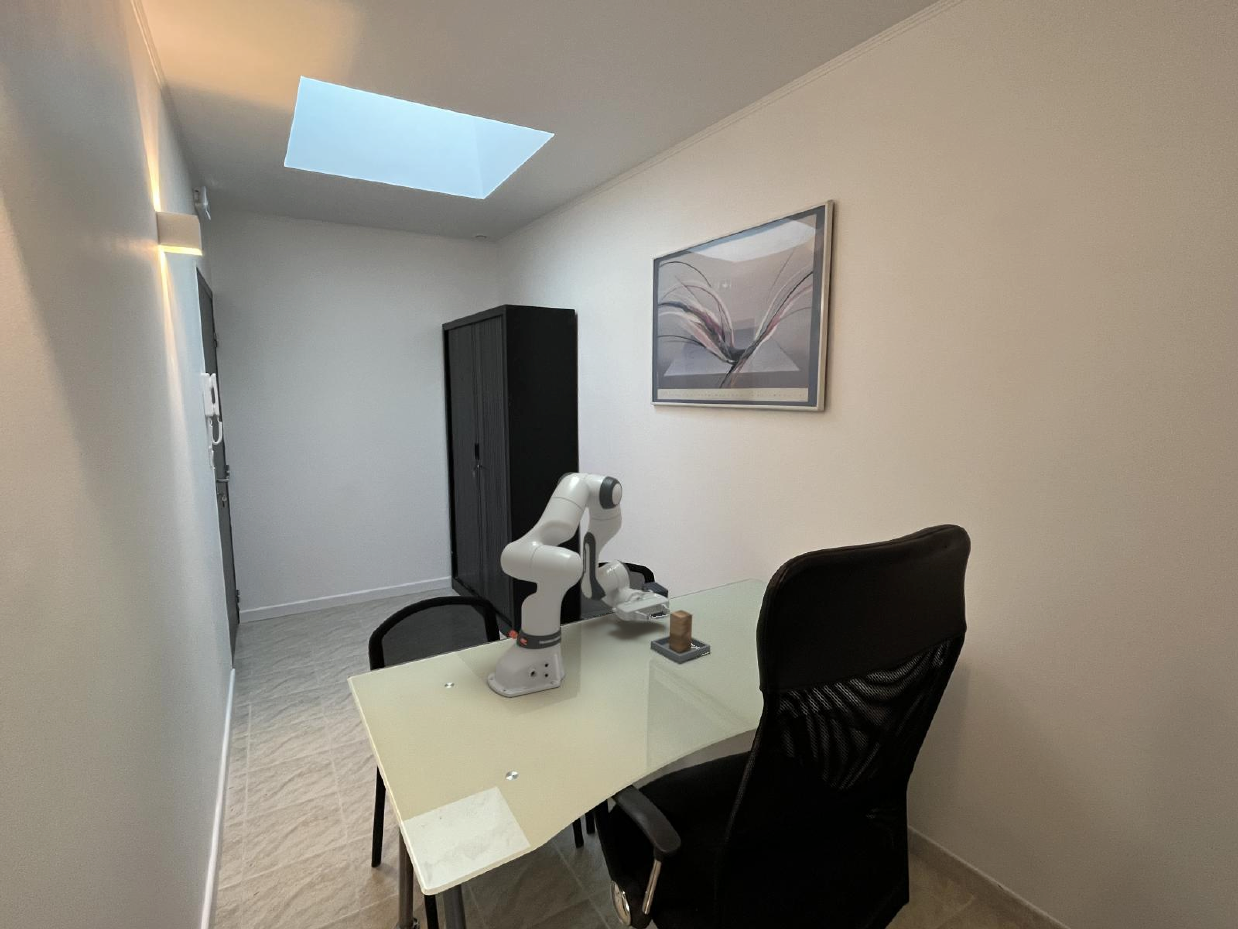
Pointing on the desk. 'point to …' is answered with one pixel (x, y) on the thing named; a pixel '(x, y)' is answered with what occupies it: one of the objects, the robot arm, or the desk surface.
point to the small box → (658, 590)
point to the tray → (663, 648)
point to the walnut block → (680, 631)
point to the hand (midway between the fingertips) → (658, 614)
